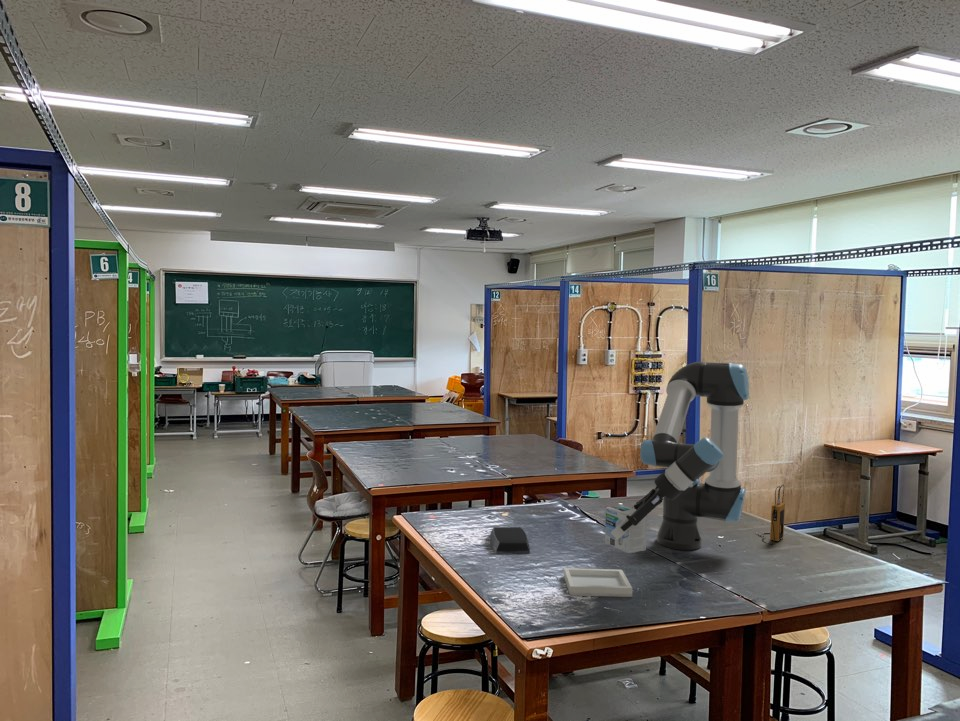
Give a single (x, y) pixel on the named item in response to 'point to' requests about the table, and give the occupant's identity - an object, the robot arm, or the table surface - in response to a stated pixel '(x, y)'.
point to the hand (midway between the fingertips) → (616, 530)
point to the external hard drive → (509, 540)
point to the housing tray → (597, 582)
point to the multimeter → (777, 519)
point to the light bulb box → (632, 538)
